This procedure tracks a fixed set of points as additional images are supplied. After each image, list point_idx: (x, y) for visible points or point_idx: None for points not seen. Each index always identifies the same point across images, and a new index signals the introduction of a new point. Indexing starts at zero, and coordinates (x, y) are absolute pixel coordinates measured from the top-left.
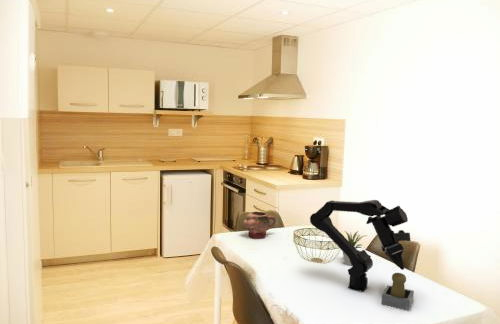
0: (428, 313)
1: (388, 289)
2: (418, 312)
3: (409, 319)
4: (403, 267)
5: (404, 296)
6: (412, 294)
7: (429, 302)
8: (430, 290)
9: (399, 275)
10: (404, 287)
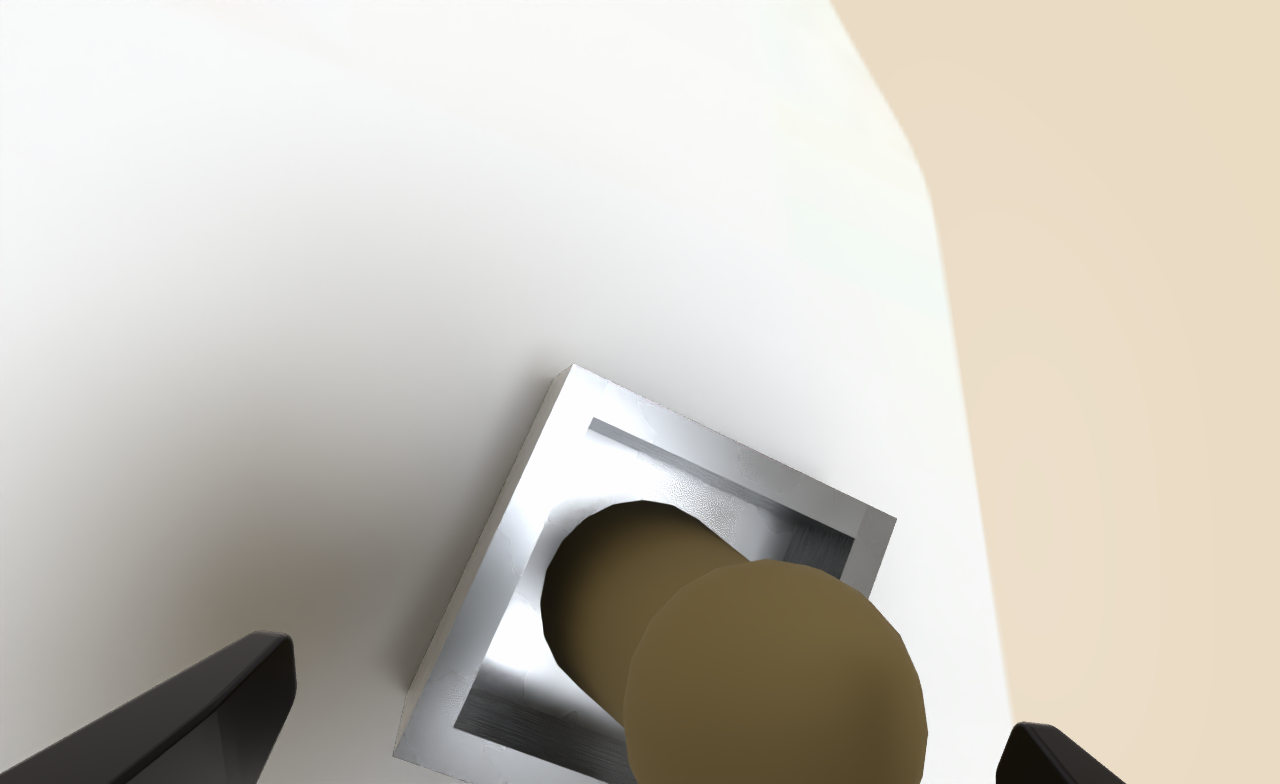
0: (838, 309)
1: (518, 742)
2: (833, 409)
3: (985, 547)
4: (1094, 775)
5: (723, 540)
6: (687, 419)
7: (569, 189)
8: (160, 8)
9: (896, 759)
10: (742, 560)
